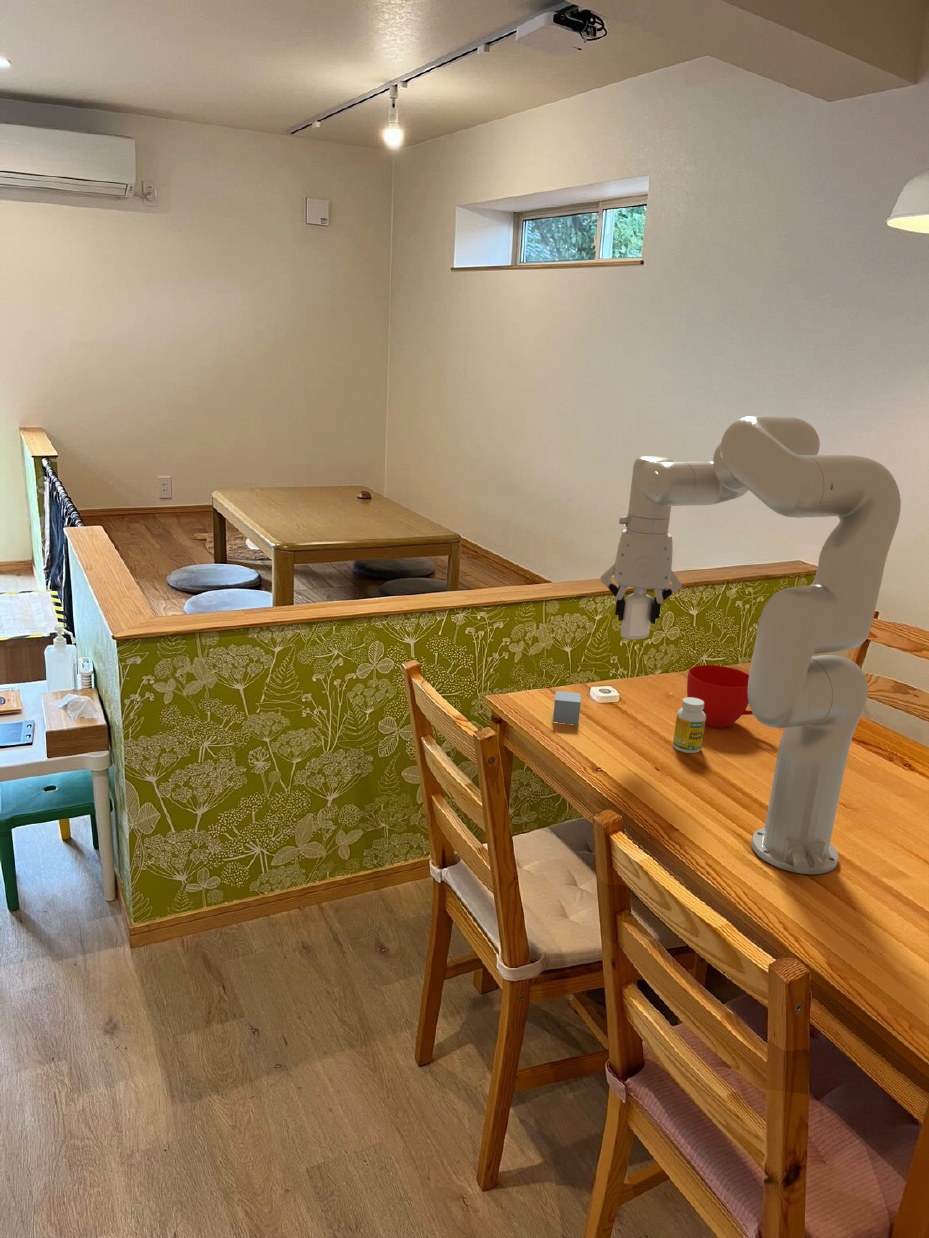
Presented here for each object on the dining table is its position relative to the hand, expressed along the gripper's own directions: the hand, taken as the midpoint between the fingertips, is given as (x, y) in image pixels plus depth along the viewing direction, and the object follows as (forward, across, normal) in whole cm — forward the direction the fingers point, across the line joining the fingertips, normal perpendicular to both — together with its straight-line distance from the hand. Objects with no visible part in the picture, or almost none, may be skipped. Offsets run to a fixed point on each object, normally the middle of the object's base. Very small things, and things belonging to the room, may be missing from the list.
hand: (636, 619), depth 178 cm
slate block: (+23, -11, +4) cm, 26 cm away
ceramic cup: (+23, +21, +10) cm, 33 cm away
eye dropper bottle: (+4, 0, 0) cm, 4 cm away
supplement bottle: (+23, +12, -4) cm, 27 cm away
